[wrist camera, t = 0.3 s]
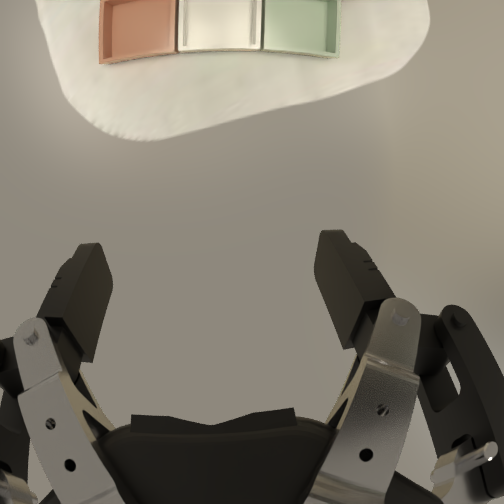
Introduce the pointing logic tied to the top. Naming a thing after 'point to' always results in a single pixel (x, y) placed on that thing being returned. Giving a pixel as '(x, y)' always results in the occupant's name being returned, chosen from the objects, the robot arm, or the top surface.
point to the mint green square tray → (301, 27)
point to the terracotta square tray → (137, 29)
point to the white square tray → (219, 25)
